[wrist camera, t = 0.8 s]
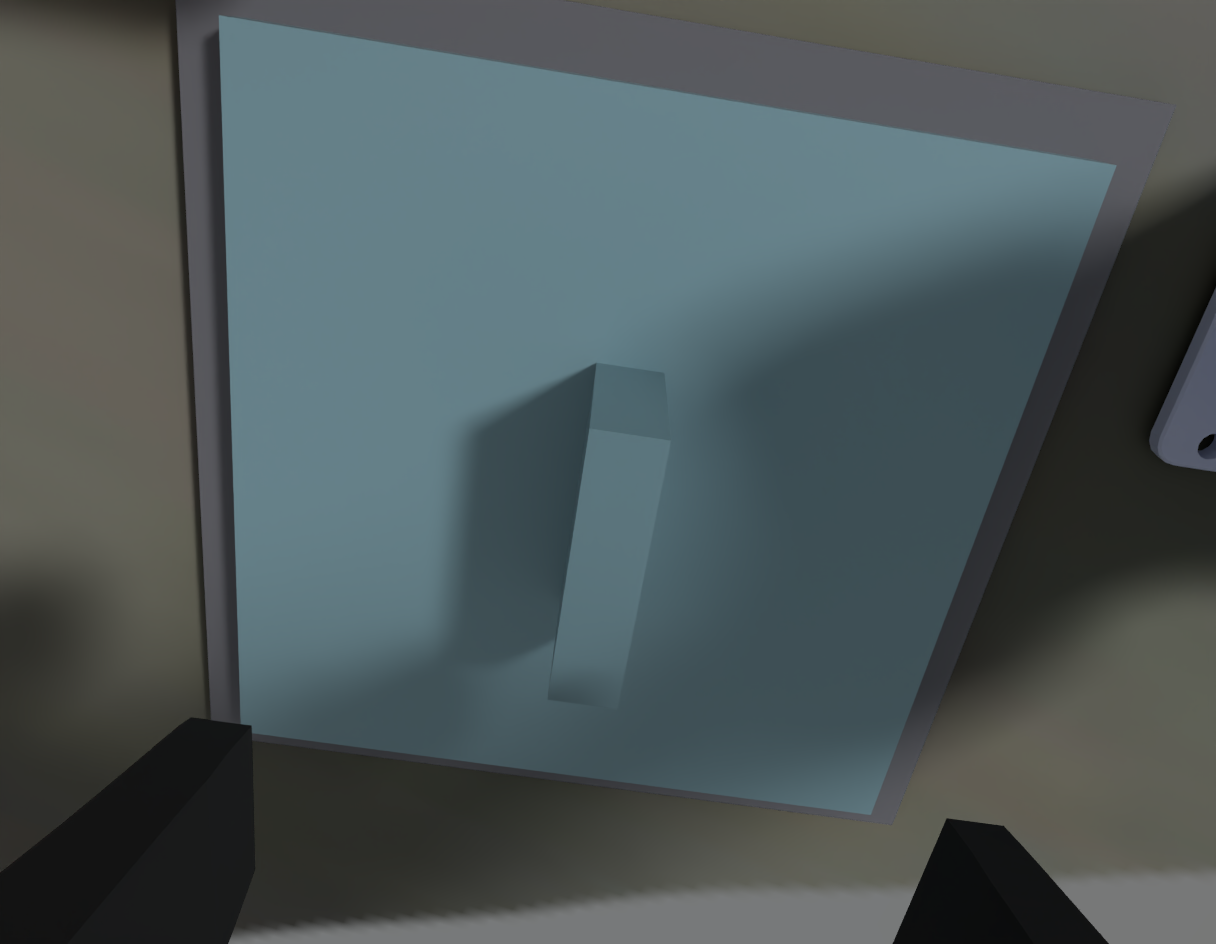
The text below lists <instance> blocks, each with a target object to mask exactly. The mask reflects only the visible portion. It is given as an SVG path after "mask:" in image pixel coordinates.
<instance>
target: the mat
mask: <svg viewBox="0 0 1216 944" xmlns="http://www.w3.org/2000/svg"><path fill="white" fill-rule="evenodd" d="M219 15H223V16H235V17H243V18H249V19H255V20H261V21H267V22H273V23H279V24H285V25H291V26H297V27H303V28H309V29H315V30H321V31H327V32H333V33H339V34H345V35H351V36H357V37H363V38H369V39H375V40H381V41H387V42H393V43H399V44H405V45H411V46H417V47H423V48H429V49H435V50H441V51H446V52H452V53H458V54H464V55H470V56H476V57H482V58H488V59H494V60H500V61H506V62H512V63H518V64H524V65H530V66H536V67H542V68H548V69H554V70H560V71H566V72H572V73H578V74H584V75H590V76H596V77H602V78H608V79H614V80H620V81H626V82H632V83H638V84H644V85H650V86H656V87H662V88H668V89H674V90H679V91H685V92H691V93H697V94H703V95H709V96H715V97H721V98H727V99H733V100H739V101H745V102H751V103H757V104H763V105H769V106H775V107H781V108H787V109H793V110H799V111H805V112H811V113H817V114H823V115H829V116H835V117H841V118H847V119H853V120H859V121H865V122H871V123H877V124H883V125H889V126H895V127H901V128H907V129H912V130H918V131H924V132H930V133H936V134H942V135H948V136H954V137H960V138H966V139H972V140H978V141H984V142H990V143H996V144H1002V145H1008V146H1014V147H1020V148H1026V149H1032V150H1038V151H1044V152H1050V153H1056V154H1062V155H1068V156H1074V157H1080V158H1086V159H1092V160H1096V161H1100V162H1105V163H1109V164H1113V165H1117V166H1116V168H1115V171H1114V174H1113V176H1112V179H1111V182H1110V184H1109V187H1108V190H1107V192H1106V195H1105V197H1104V200H1103V203H1102V205H1101V208H1100V211H1099V213H1098V216H1097V219H1096V221H1095V224H1094V227H1093V229H1092V232H1091V234H1090V237H1089V240H1088V242H1087V245H1086V248H1085V250H1084V253H1083V256H1082V258H1081V261H1080V264H1079V266H1078V269H1077V271H1076V274H1075V277H1074V279H1073V282H1072V285H1071V287H1070V290H1069V293H1068V295H1067V298H1066V301H1065V303H1064V306H1063V308H1062V311H1061V314H1060V316H1059V319H1058V322H1057V324H1056V327H1055V330H1054V332H1053V335H1052V337H1051V340H1050V343H1049V345H1048V348H1047V351H1046V353H1045V356H1044V359H1043V361H1042V364H1041V367H1040V369H1039V372H1038V374H1037V377H1036V380H1035V382H1034V385H1033V388H1032V390H1031V393H1030V396H1029V398H1028V401H1027V404H1026V406H1025V409H1024V411H1023V414H1022V417H1021V419H1020V422H1019V425H1018V427H1017V430H1016V433H1015V435H1014V438H1013V441H1012V443H1011V446H1010V448H1009V451H1008V454H1007V456H1006V459H1005V462H1004V464H1003V467H1002V470H1001V472H1000V475H999V478H998V480H997V483H996V485H995V488H994V491H993V493H992V496H991V499H990V501H989V504H988V507H987V509H986V512H985V515H984V517H983V520H982V522H981V525H980V528H979V530H978V533H977V536H976V538H975V541H974V544H973V546H972V549H971V552H970V554H969V557H968V559H967V562H966V565H965V567H964V570H963V573H962V575H961V578H960V581H959V583H958V586H957V588H956V591H955V594H954V596H953V599H952V602H951V604H950V607H949V610H948V612H947V615H946V618H945V620H944V623H943V625H942V628H941V631H940V633H939V636H938V639H937V641H936V644H935V647H934V649H933V652H932V655H931V657H930V660H929V662H928V665H927V668H926V670H925V673H924V676H923V678H922V681H921V684H920V686H919V689H918V692H917V694H916V697H915V699H914V702H913V705H912V707H911V710H910V713H909V715H908V718H907V721H906V723H905V726H904V729H903V731H902V734H901V736H900V739H899V742H898V744H897V747H896V750H895V752H894V755H893V758H892V760H891V763H890V766H889V768H888V771H887V773H886V776H885V779H884V781H883V784H882V787H881V789H880V792H879V795H878V797H877V800H876V802H875V805H874V808H873V810H872V813H871V815H867V814H860V813H852V812H844V811H837V810H829V809H822V808H814V807H807V806H799V805H791V804H784V803H776V802H769V801H761V800H754V799H746V798H739V797H731V796H723V795H716V794H708V793H701V792H693V791H686V790H678V789H671V788H663V787H655V786H648V785H640V784H633V783H625V782H618V781H610V780H602V779H595V778H587V777H580V776H572V775H565V774H557V773H550V772H542V771H534V770H527V769H519V768H512V767H504V766H497V765H489V764H481V763H474V762H466V761H459V760H451V759H444V758H436V757H429V756H421V755H413V754H406V753H398V752H391V751H383V750H376V749H368V748H361V747H353V746H345V745H338V744H330V743H323V742H315V741H308V740H300V739H292V738H285V737H277V736H270V735H262V734H255V733H252V741H258V742H266V743H274V744H281V745H289V746H296V747H304V748H312V749H319V750H327V751H334V752H342V753H349V754H357V755H365V756H372V757H380V758H387V759H395V760H403V761H410V762H418V763H425V764H433V765H440V766H448V767H456V768H463V769H471V770H478V771H486V772H494V773H501V774H509V775H516V776H524V777H531V778H539V779H547V780H554V781H562V782H569V783H577V784H585V785H592V786H600V787H607V788H615V789H622V790H630V791H638V792H645V793H653V794H660V795H668V796H676V797H683V798H691V799H698V800H706V801H713V802H721V803H729V804H736V805H744V806H751V807H759V808H767V809H774V810H782V811H789V812H797V813H804V814H812V815H820V816H827V817H835V818H842V819H850V820H857V821H865V822H873V823H880V824H888V825H892V824H893V821H894V819H895V816H896V814H897V811H898V809H899V806H900V804H901V801H902V799H903V796H904V794H905V791H906V789H907V786H908V784H909V781H910V778H911V776H912V773H913V771H914V768H915V766H916V763H917V761H918V758H919V756H920V753H921V751H922V748H923V746H924V743H925V740H926V738H927V735H928V733H929V730H930V728H931V725H932V723H933V720H934V718H935V715H936V713H937V710H938V708H939V705H940V702H941V700H942V697H943V695H944V692H945V690H946V687H947V685H948V682H949V680H950V677H951V675H952V672H953V670H954V667H955V665H956V662H957V659H958V657H959V654H960V652H961V649H962V647H963V644H964V642H965V639H966V637H967V634H968V632H969V629H970V627H971V624H972V621H973V619H974V616H975V614H976V611H977V609H978V606H979V604H980V601H981V599H982V596H983V594H984V591H985V589H986V586H987V584H988V581H989V578H990V576H991V573H992V571H993V568H994V566H995V563H996V561H997V558H998V556H999V553H1000V551H1001V548H1002V546H1003V543H1004V540H1005V538H1006V535H1007V533H1008V530H1009V528H1010V525H1011V523H1012V520H1013V518H1014V515H1015V513H1016V510H1017V508H1018V505H1019V503H1020V500H1021V497H1022V495H1023V492H1024V490H1025V487H1026V485H1027V482H1028V480H1029V477H1030V475H1031V472H1032V470H1033V467H1034V465H1035V462H1036V459H1037V457H1038V454H1039V452H1040V449H1041V447H1042V444H1043V442H1044V439H1045V437H1046V434H1047V432H1048V429H1049V427H1050V424H1051V422H1052V419H1053V416H1054V414H1055V411H1056V409H1057V406H1058V404H1059V401H1060V399H1061V396H1062V394H1063V391H1064V389H1065V386H1066V384H1067V381H1068V378H1069V376H1070V373H1071V371H1072V368H1073V366H1074V363H1075V361H1076V358H1077V356H1078V353H1079V351H1080V348H1081V346H1082V343H1083V340H1084V338H1085V335H1086V333H1087V330H1088V328H1089V325H1090V323H1091V320H1092V318H1093V315H1094V313H1095V310H1096V308H1097V305H1098V303H1099V300H1100V297H1101V295H1102V292H1103V290H1104V287H1105V285H1106V282H1107V280H1108V277H1109V275H1110V272H1111V270H1112V267H1113V265H1114V262H1115V259H1116V257H1117V254H1118V252H1119V249H1120V247H1121V244H1122V242H1123V239H1124V237H1125V234H1126V232H1127V229H1128V227H1129V224H1130V222H1131V219H1132V216H1133V214H1134V211H1135V209H1136V206H1137V204H1138V201H1139V199H1140V196H1141V194H1142V191H1143V189H1144V186H1145V184H1146V181H1147V178H1148V176H1149V173H1150V171H1151V168H1152V166H1153V163H1154V161H1155V158H1156V156H1157V153H1158V151H1159V148H1160V146H1161V143H1162V141H1163V138H1164V135H1165V133H1166V130H1167V128H1168V125H1169V123H1170V120H1171V118H1172V115H1173V113H1174V110H1175V108H1176V105H1173V104H1167V103H1162V102H1156V101H1150V100H1144V99H1138V98H1132V97H1127V96H1121V95H1115V94H1109V93H1103V92H1097V91H1091V90H1086V89H1080V88H1074V87H1068V86H1062V85H1056V84H1050V83H1045V82H1039V81H1033V80H1027V79H1021V78H1015V77H1010V76H1004V75H998V74H992V73H986V72H980V71H974V70H969V69H963V68H957V67H951V66H945V65H939V64H933V63H928V62H922V61H916V60H910V59H904V58H898V57H893V56H887V55H881V54H875V53H869V52H863V51H857V50H852V49H846V48H840V47H834V46H828V45H822V44H816V43H811V42H805V41H799V40H793V39H787V38H781V37H775V36H770V35H764V34H758V33H752V32H746V31H740V30H735V29H729V28H723V27H717V26H711V25H705V24H699V23H694V22H688V21H682V20H676V19H670V18H664V17H658V16H653V15H647V14H641V13H635V12H629V11H623V10H618V9H612V8H606V7H600V6H594V5H588V4H582V3H577V2H571V1H565V0H176V18H177V38H178V59H179V79H180V99H181V120H182V140H183V160H184V181H185V201H186V221H187V242H188V262H189V282H190V302H191V323H192V343H193V363H194V384H195V404H196V424H197V445H198V465H199V485H200V506H201V526H202V546H203V567H204V587H205V607H206V628H207V648H208V668H209V689H210V709H211V720H214V721H221V722H229V723H236V724H241V717H240V685H239V653H238V620H237V588H236V556H235V524H234V492H233V459H232V427H231V395H230V363H229V331H228V298H227V266H226V234H225V202H224V169H223V137H222V105H221V73H220V41H219Z"/></svg>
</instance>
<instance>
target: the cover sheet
mask: <svg viewBox="0 0 1216 944" xmlns="http://www.w3.org/2000/svg"><path fill="white" fill-rule="evenodd" d="M219 41H220V73H221V105H222V137H223V169H224V202H225V234H226V266H227V298H228V331H229V363H230V395H231V427H232V459H233V492H234V524H235V556H236V588H237V620H238V653H239V685H240V717H241V724H244V725H251V726H252V733H255V734H262V735H270V736H277V737H285V738H292V739H300V740H308V741H315V742H323V743H330V744H338V745H345V746H353V747H361V748H368V749H376V750H383V751H391V752H398V753H406V754H413V755H421V756H429V757H436V758H444V759H451V760H459V761H466V762H474V763H481V764H489V765H497V766H504V767H512V768H519V769H527V770H534V771H542V772H550V773H557V774H565V775H572V776H580V777H587V778H595V779H602V780H610V781H618V782H625V783H633V784H640V785H648V786H655V787H663V788H671V789H678V790H686V791H693V792H701V793H708V794H716V795H723V796H731V797H739V798H746V799H754V800H761V801H769V802H776V803H784V804H791V805H799V806H807V807H814V808H822V809H829V810H837V811H844V812H852V813H860V814H867V815H871V813H872V810H873V808H874V805H875V802H876V800H877V797H878V795H879V792H880V789H881V787H882V784H883V781H884V779H885V776H886V773H887V771H888V768H889V766H890V763H891V760H892V758H893V755H894V752H895V750H896V747H897V744H898V742H899V739H900V736H901V734H902V731H903V729H904V726H905V723H906V721H907V718H908V715H909V713H910V710H911V707H912V705H913V702H914V699H915V697H916V694H917V692H918V689H919V686H920V684H921V681H922V678H923V676H924V673H925V670H926V668H927V665H928V662H929V660H930V657H931V655H932V652H933V649H934V647H935V644H936V641H937V639H938V636H939V633H940V631H941V628H942V625H943V623H944V620H945V618H946V615H947V612H948V610H949V607H950V604H951V602H952V599H953V596H954V594H955V591H956V588H957V586H958V583H959V581H960V578H961V575H962V573H963V570H964V567H965V565H966V562H967V559H968V557H969V554H970V552H971V549H972V546H973V544H974V541H975V538H976V536H977V533H978V530H979V528H980V525H981V522H982V520H983V517H984V515H985V512H986V509H987V507H988V504H989V501H990V499H991V496H992V493H993V491H994V488H995V485H996V483H997V480H998V478H999V475H1000V472H1001V470H1002V467H1003V464H1004V462H1005V459H1006V456H1007V454H1008V451H1009V448H1010V446H1011V443H1012V441H1013V438H1014V435H1015V433H1016V430H1017V427H1018V425H1019V422H1020V419H1021V417H1022V414H1023V411H1024V409H1025V406H1026V404H1027V401H1028V398H1029V396H1030V393H1031V390H1032V388H1033V385H1034V382H1035V380H1036V377H1037V374H1038V372H1039V369H1040V367H1041V364H1042V361H1043V359H1044V356H1045V353H1046V351H1047V348H1048V345H1049V343H1050V340H1051V337H1052V335H1053V332H1054V330H1055V327H1056V324H1057V322H1058V319H1059V316H1060V314H1061V311H1062V308H1063V306H1064V303H1065V301H1066V298H1067V295H1068V293H1069V290H1070V287H1071V285H1072V282H1073V279H1074V277H1075V274H1076V271H1077V269H1078V266H1079V264H1080V261H1081V258H1082V256H1083V253H1084V250H1085V248H1086V245H1087V242H1088V240H1089V237H1090V234H1091V232H1092V229H1093V227H1094V224H1095V221H1096V219H1097V216H1098V213H1099V211H1100V208H1101V205H1102V203H1103V200H1104V197H1105V195H1106V192H1107V190H1108V187H1109V184H1110V182H1111V179H1112V176H1113V174H1114V171H1115V168H1116V166H1117V165H1113V164H1109V163H1105V162H1100V161H1096V160H1092V159H1086V158H1080V157H1074V156H1068V155H1062V154H1056V153H1050V152H1044V151H1038V150H1032V149H1026V148H1020V147H1014V146H1008V145H1002V144H996V143H990V142H984V141H978V140H972V139H966V138H960V137H954V136H948V135H942V134H936V133H930V132H924V131H918V130H912V129H907V128H901V127H895V126H889V125H883V124H877V123H871V122H865V121H859V120H853V119H847V118H841V117H835V116H829V115H823V114H817V113H811V112H805V111H799V110H793V109H787V108H781V107H775V106H769V105H763V104H757V103H751V102H745V101H739V100H733V99H727V98H721V97H715V96H709V95H703V94H697V93H691V92H685V91H679V90H674V89H668V88H662V87H656V86H650V85H644V84H638V83H632V82H626V81H620V80H614V79H608V78H602V77H596V76H590V75H584V74H578V73H572V72H566V71H560V70H554V69H548V68H542V67H536V66H530V65H524V64H518V63H512V62H506V61H500V60H494V59H488V58H482V57H476V56H470V55H464V54H458V53H452V52H446V51H441V50H435V49H429V48H423V47H417V46H411V45H405V44H399V43H393V42H387V41H381V40H375V39H369V38H363V37H357V36H351V35H345V34H339V33H333V32H327V31H321V30H315V29H309V28H303V27H297V26H291V25H285V24H279V23H273V22H267V21H261V20H255V19H249V18H243V17H235V16H223V15H219Z"/></svg>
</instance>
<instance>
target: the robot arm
mask: <svg viewBox="0 0 1216 944" xmlns="http://www.w3.org/2000/svg"><path fill="white" fill-rule="evenodd" d="M1210 434H1215V437H1214V441H1213V442H1212V443H1211V444H1210V446H1209V447H1207V448H1205V449H1203V450H1199V451H1198V446H1199V443H1200V442H1201V441H1202V440H1203V438H1205V437H1207V436H1209V435H1210ZM1149 443H1150V447H1151V450H1152V451H1153V452H1154V453H1155V454H1156V455H1157V456H1158V457H1159V458H1160V459H1162V460H1163V461H1164V462H1166V463H1169V464H1171V465H1174V466H1181V467H1187V468H1194V469H1200V470H1207V471H1213V472H1216V288H1215V290H1214V293H1213V295H1212V297H1211V299H1210V302H1209V304H1208V306H1207V308H1206V310H1205V313H1204V315H1203V317H1202V319H1201V322H1200V324H1199V326H1198V328H1197V330H1196V333H1195V335H1194V337H1193V339H1192V342H1191V344H1190V346H1189V348H1188V351H1187V353H1186V355H1185V357H1184V359H1183V362H1182V364H1181V366H1180V368H1179V371H1178V373H1177V375H1176V377H1175V379H1174V382H1173V384H1172V386H1171V388H1170V391H1169V393H1168V395H1167V397H1166V400H1165V402H1164V404H1163V406H1162V408H1161V411H1160V413H1159V415H1158V417H1157V420H1156V422H1155V424H1154V426H1153V428H1152V431H1151V434H1150V439H1149ZM254 871H255V845H254V802H253V758H252V726H251V725H244V724H236V723H229V722H221V721H214V720H206V719H199V718H190V719H188V720H187V721H185V722H184V723H182V724H181V725H179V726H178V727H177V728H176V729H175V730H173V731H172V732H171V733H170V734H169V735H167V736H166V737H165V738H164V739H163V740H161V741H160V742H159V743H158V744H157V745H155V746H154V747H153V748H152V749H151V750H150V751H148V752H147V753H146V754H145V755H144V756H142V757H141V758H140V759H139V760H138V761H137V762H135V763H134V764H133V765H132V766H131V767H129V768H128V769H127V770H126V771H125V772H124V773H122V774H121V775H120V776H119V777H118V778H116V779H115V780H114V781H113V782H112V783H110V784H109V785H108V786H107V787H106V788H105V789H103V790H102V791H101V792H100V793H99V794H97V795H96V796H95V797H94V798H92V799H91V800H90V801H89V802H88V803H86V804H85V805H84V806H83V807H82V808H80V809H79V810H78V811H77V812H76V813H74V814H73V815H72V816H71V817H70V818H68V819H67V820H66V821H65V822H63V823H62V824H61V825H60V826H58V827H57V828H56V829H55V830H53V831H52V832H51V833H50V834H48V835H47V836H46V837H45V838H43V839H42V840H41V841H40V842H38V843H37V844H36V845H35V846H33V847H32V848H31V849H30V850H28V851H27V852H26V853H25V854H23V855H22V856H21V857H20V858H18V859H17V860H16V861H15V862H13V863H12V864H11V865H10V866H8V867H7V868H6V869H4V870H3V871H2V872H1V873H0V944H228V942H229V940H230V937H231V934H232V932H233V929H234V927H235V924H236V921H237V918H238V915H239V913H240V910H241V907H242V904H243V902H244V899H245V896H246V893H247V890H248V888H249V885H250V882H251V879H252V876H253V874H254ZM893 944H1109V943H1108V942H1107V941H1106V940H1105V939H1104V938H1103V937H1102V935H1101V934H1100V933H1099V932H1098V931H1097V930H1096V929H1095V928H1094V926H1093V925H1092V924H1091V923H1090V922H1089V921H1088V920H1087V919H1086V917H1085V916H1084V915H1083V914H1082V913H1081V912H1080V911H1079V910H1078V908H1077V907H1076V906H1075V905H1074V904H1073V903H1072V901H1071V900H1070V899H1069V898H1068V897H1067V896H1066V895H1065V894H1064V892H1063V891H1062V890H1061V889H1060V888H1059V887H1058V885H1057V884H1056V883H1055V882H1054V881H1053V880H1052V879H1051V878H1050V876H1049V875H1048V874H1047V873H1046V872H1045V871H1044V870H1043V868H1042V867H1041V866H1040V865H1039V864H1038V863H1037V862H1036V861H1035V860H1034V858H1033V857H1032V856H1031V855H1030V854H1029V853H1028V852H1027V851H1026V850H1025V848H1024V847H1023V846H1022V845H1021V844H1020V843H1019V842H1018V841H1017V840H1016V839H1015V838H1014V837H1013V835H1012V834H1011V833H1010V832H1009V831H1008V830H1007V829H1006V828H1005V827H1004V826H1000V825H992V824H985V823H977V822H970V821H962V820H955V819H946V821H945V824H944V826H943V828H942V831H941V833H940V835H939V838H938V840H937V842H936V845H935V847H934V849H933V852H932V854H931V856H930V858H929V861H928V863H927V865H926V868H925V870H924V872H923V875H922V877H921V879H920V882H919V884H918V886H917V889H916V891H915V893H914V896H913V898H912V900H911V903H910V905H909V907H908V910H907V912H906V915H905V917H904V919H903V921H902V924H901V926H900V928H899V930H898V933H897V935H896V937H895V940H894V942H893Z"/></svg>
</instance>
